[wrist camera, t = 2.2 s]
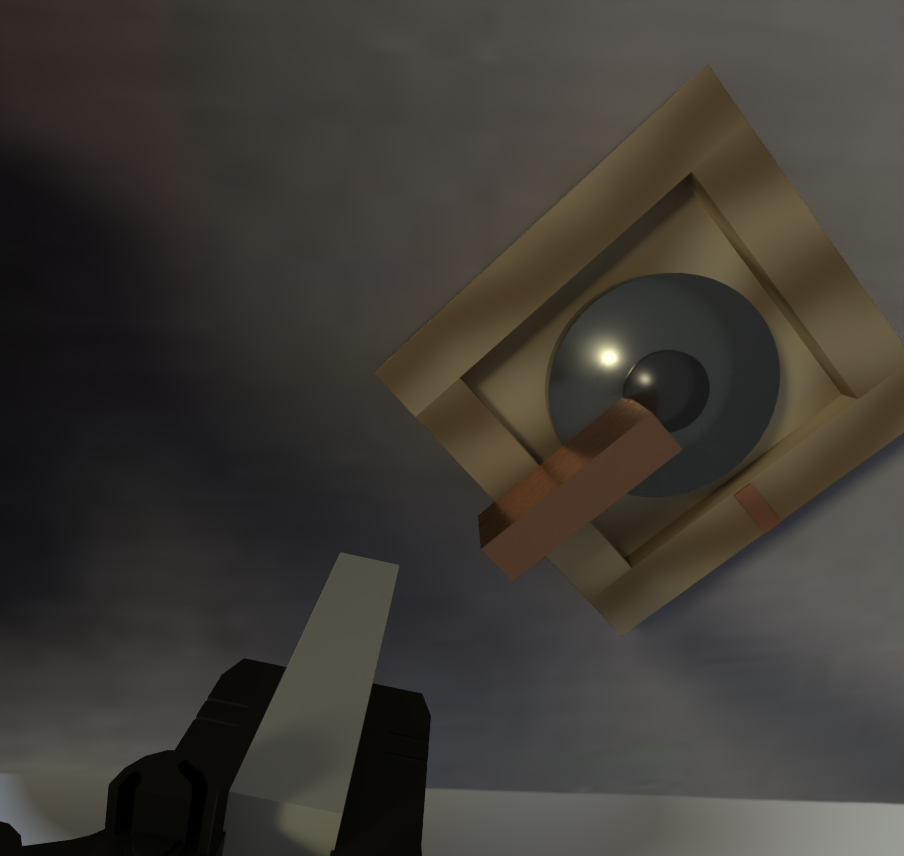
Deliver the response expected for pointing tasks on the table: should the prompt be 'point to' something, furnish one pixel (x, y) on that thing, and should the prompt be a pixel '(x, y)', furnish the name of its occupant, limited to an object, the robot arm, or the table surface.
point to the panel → (654, 252)
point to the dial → (639, 408)
